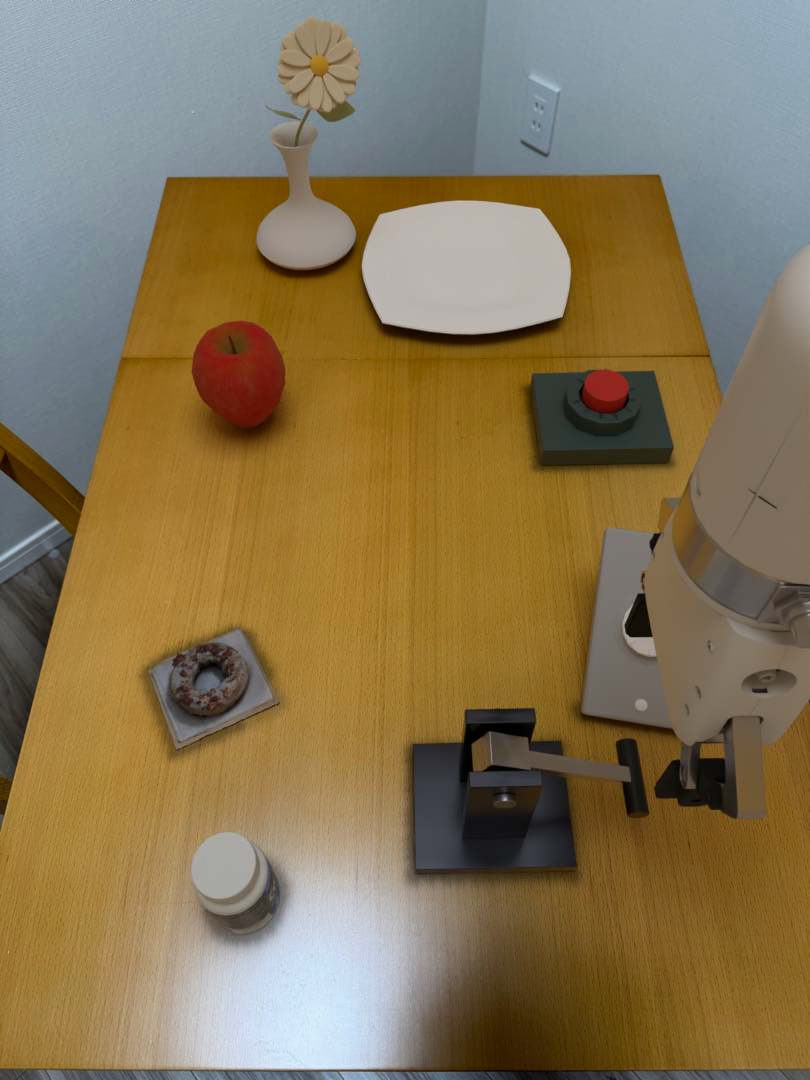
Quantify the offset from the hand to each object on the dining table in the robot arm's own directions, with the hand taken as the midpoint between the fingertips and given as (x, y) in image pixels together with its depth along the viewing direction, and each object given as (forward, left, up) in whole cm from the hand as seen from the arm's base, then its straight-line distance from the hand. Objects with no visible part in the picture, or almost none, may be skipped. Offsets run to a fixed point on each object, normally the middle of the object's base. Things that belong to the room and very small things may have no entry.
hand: (665, 707), depth 48 cm
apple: (+38, -30, -17) cm, 51 cm away
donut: (+31, -2, -17) cm, 36 cm away
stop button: (+5, -37, -13) cm, 39 cm away
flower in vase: (+40, -57, -17) cm, 72 cm away
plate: (+22, -56, -17) cm, 62 cm away
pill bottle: (+23, +12, -17) cm, 31 cm away
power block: (+5, -37, -17) cm, 40 cm away
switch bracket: (+8, +2, -17) cm, 19 cm away
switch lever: (+5, +2, -10) cm, 11 cm away
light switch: (-1, -13, -17) cm, 21 cm away
